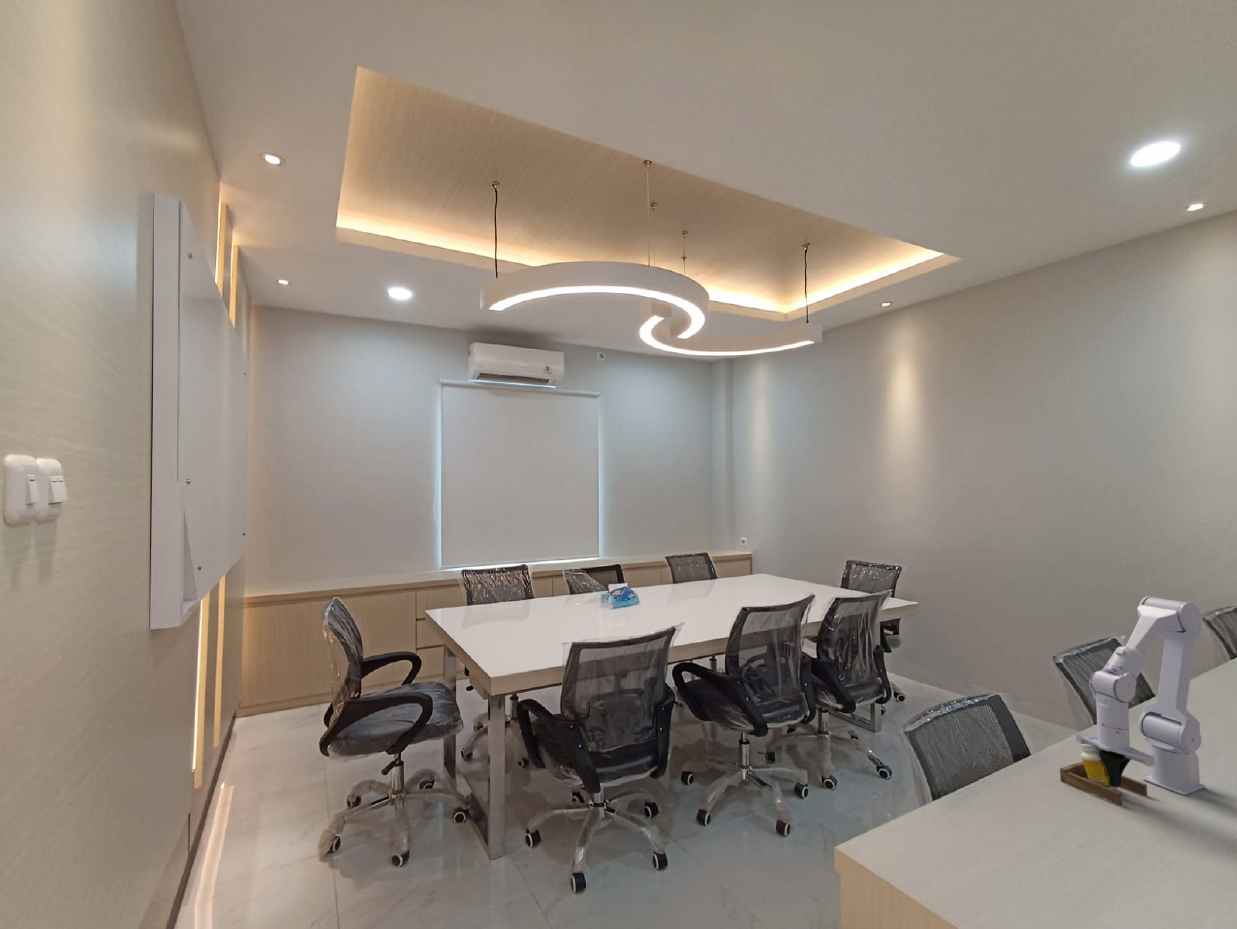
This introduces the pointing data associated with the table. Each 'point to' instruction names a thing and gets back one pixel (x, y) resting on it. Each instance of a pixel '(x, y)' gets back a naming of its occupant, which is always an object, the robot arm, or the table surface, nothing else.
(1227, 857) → the table surface
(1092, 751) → the supplement bottle
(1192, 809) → the table surface
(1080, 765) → the walnut slot rack
